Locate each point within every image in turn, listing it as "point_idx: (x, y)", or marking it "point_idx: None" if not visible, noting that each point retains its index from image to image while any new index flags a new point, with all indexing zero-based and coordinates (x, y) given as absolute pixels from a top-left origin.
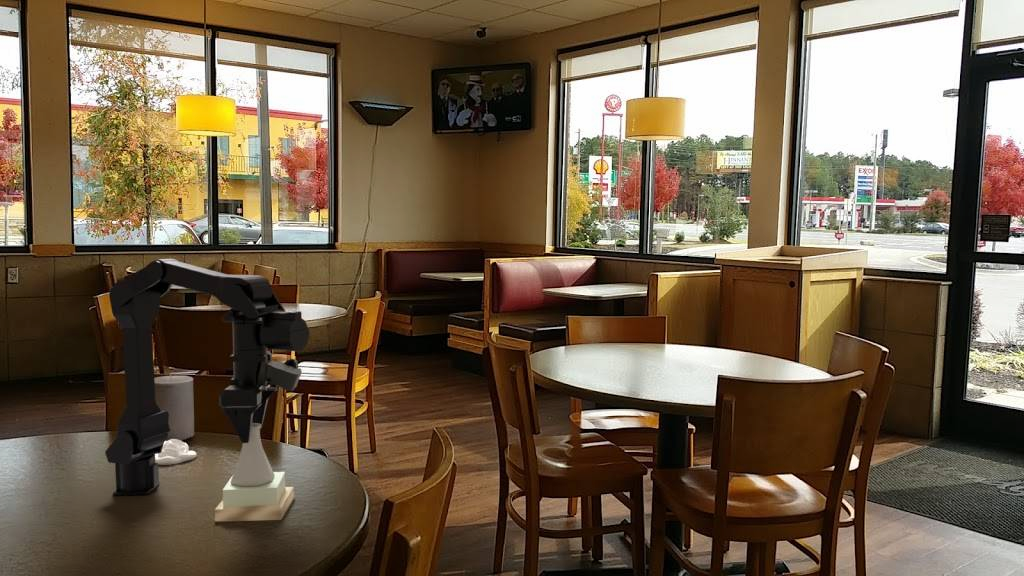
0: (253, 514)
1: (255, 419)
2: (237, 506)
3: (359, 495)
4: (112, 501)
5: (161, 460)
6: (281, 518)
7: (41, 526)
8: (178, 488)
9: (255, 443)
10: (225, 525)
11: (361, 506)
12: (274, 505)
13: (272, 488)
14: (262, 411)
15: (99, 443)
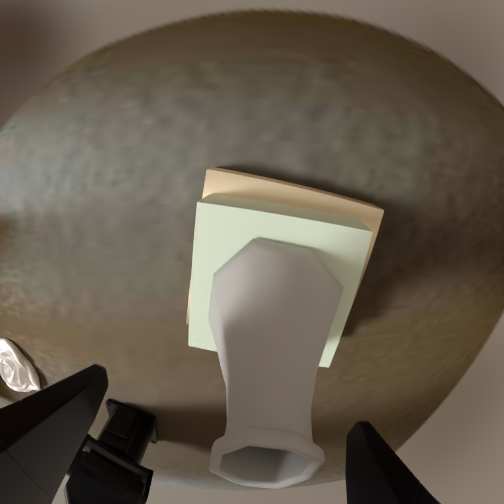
0: None
1: (86, 416)
2: None
3: (242, 10)
4: (179, 442)
5: (38, 384)
6: (373, 204)
7: None
8: (124, 382)
9: (309, 387)
10: (360, 318)
11: (329, 14)
12: None
13: (368, 245)
14: (50, 421)
15: None
